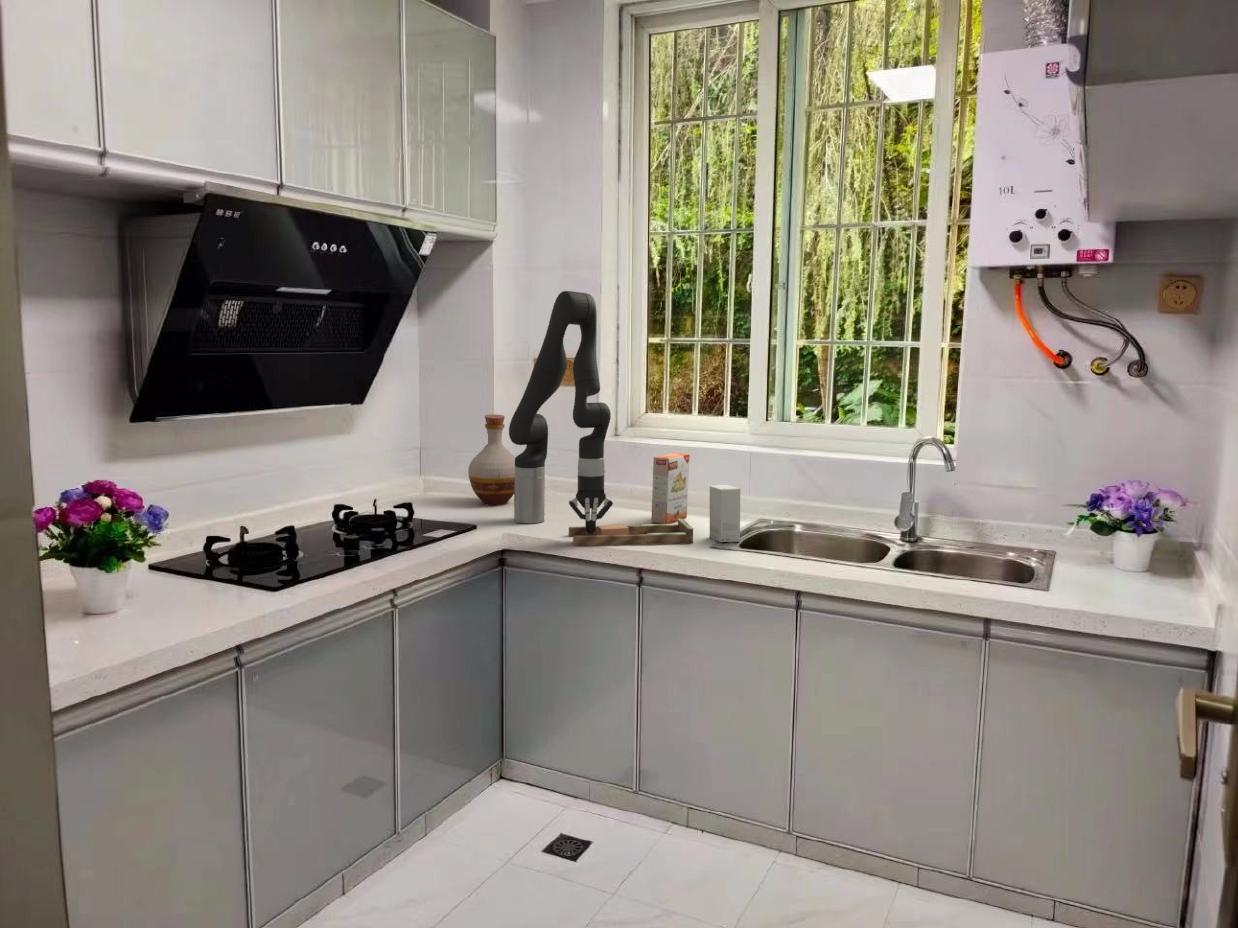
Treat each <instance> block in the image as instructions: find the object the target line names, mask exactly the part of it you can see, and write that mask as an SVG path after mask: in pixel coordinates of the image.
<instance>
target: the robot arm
mask: <svg viewBox="0 0 1238 928" xmlns="http://www.w3.org/2000/svg"><path fill="white" fill-rule="evenodd" d="M597 312H598V311H597V304H596V299H595V298H594V296H593V295H591V294H590V293H587V292H581V291H580V292H579V291H572V290H562V291H561V292H560V293H559V294H558V295H557V297H556V299H555V301H554V304H553V307H552V310H551V314H550V318H549V322H548V325H547V329H546V333H545V336H544V339H543V342H542V345H541V347H540V351H539V353H538V356H537V358H536V360H535V363H534V366H533V369H532V371H531V374H530V377H529V379H528V382H527V384H526V387H525V390H524V392H523V395H522V397H521V400H520V401H519V403H518V406H517V407H516V409H515V410H514V411H515V412H514V413H513V415H512V417H511V420H510V422H509V427H508V436H509V439H510V442H512V443H513V444H514V445H519V446H525V449H524V450H523V451H522V452H521V453H520V454H518V455H516V456H515V489H514V495H513V497H514V501H513V504H514V505H513V510H514V512H513V513H514V514H513V515H514V516H513V519H514V523H515V524H516V523H517V524H519V523H520V524H539V523H543V522H544V521H545V515H546V513H545V500H546V499H545V497H546V496H545V492H546V491H545V488H546V487H545V480H546V479H545V478H546V477H545V472H546V471H545V470H546V469H545V468H546V467H545V466H546V465H545V463H546V460H547V456H548V442H549V427H548V426H549V425H548V422H547V420H546V418H545V416H544V415H542V414H540V413H538V411H540V409H541V407H542V406H543V405H544V404H545V403H546V402H547V401H548V400H549V399H550V398H551V397H552V396H553V395H554V394H555V393H556V392H557V391H558V389H559V387H561V384H562V382H563V380H564V377H565V374H566V371H567V368H568V360H567V354H566V350H565V345H564V337H565V334H566V331H567V328H568V326H569V325H573V326H574V325H575V326H579V329H580V335H581V337H580V343H579V347H578V349H577V352H576V354H575V357H574V359H573V364H572V373H573V374H572V375H573V381H574V391H575V392H574V403H573V409H572V420H573V423H574V425H576V427H577V428H579V429H592V428H593V430H592V432H591V433H590V434H588V435H585V436H582V437H580V438H579V442H578V461H577V462H578V463H577V491H576V494H575V497H574V498H572V499H571V500H569V501H568V505H569V506H570V507H571V508H572V510H573V511H574V512H575V514H576V515H577V516H578V517H579V519H580V520H584V522H585V525H584V527H585V529H586V532H588V534H593V532H595V531H596V526H597V520H600V519H603V517H604V516H605V515H606V513H607V512H608V511H609V510H610V508H611V507H612V506H613V504H614V503H613V501H612V499H609V498H607V496H606V493H605V472H606V470H605V459H604V458H605V448H604V447H605V441H606V436H607V433H608V429H609V426H610V423H611V415H612V413H611V410H610V407H609V405H608V404H606V403H605V402H587V400H588V397H591V396H595V395H598V393H600V391H601V384H600V383H601V382H600V377H599V370H598V369H599V368H598V362H597V360H598V359H597V336H598V335H597V334H598V333H597V331H598V330H597V329H598V328H597V326H598V323H597V322H598V318H597V317H598V316H597V315H598V314H597ZM578 503H579V504H580V505H581V507H582V508H583V509H584V513H583V512H582V511H581V510H580V509H579V508H578V506H579V504H578ZM602 504H603V506H602V508H600V507H601V505H602ZM599 508H600V510H599V511H598V509H599Z"/></svg>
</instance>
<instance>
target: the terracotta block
mask: <svg viewBox="0 0 1238 928" xmlns="http://www.w3.org/2000/svg"><path fill="white" fill-rule="evenodd" d="M596 526H597V535H629V528H628V527H627V526H628V525H626V524H622V523H619V524H602V525H596Z"/></svg>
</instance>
